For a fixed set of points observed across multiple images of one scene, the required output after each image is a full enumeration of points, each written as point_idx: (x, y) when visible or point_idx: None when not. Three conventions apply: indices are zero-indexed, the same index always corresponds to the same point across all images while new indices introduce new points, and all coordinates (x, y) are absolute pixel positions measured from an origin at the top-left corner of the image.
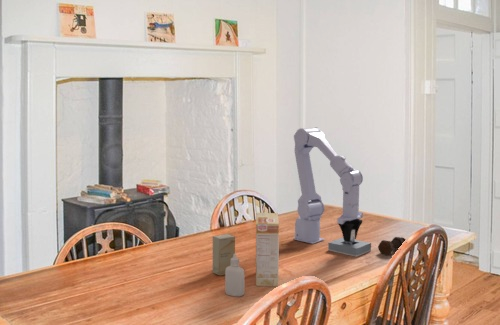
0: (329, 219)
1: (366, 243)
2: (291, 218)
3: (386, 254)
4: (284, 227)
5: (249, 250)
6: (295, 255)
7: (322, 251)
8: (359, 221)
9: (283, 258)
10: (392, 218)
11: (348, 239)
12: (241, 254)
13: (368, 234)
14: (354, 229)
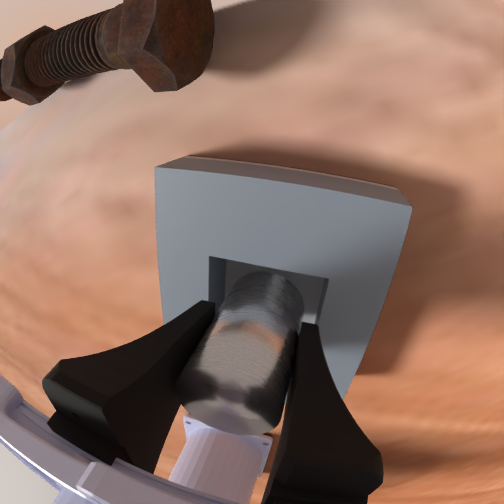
0: (32, 395)
1: (194, 193)
2: None
3: (212, 20)
4: (164, 478)
5: (430, 493)
6: (463, 428)
7: (370, 388)
8: (105, 408)
9: (500, 431)
10: None
11: (319, 339)
12: (468, 486)
13: (13, 281)
14: (202, 373)
